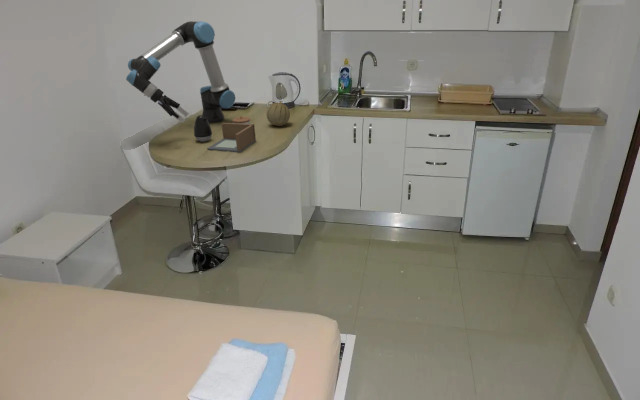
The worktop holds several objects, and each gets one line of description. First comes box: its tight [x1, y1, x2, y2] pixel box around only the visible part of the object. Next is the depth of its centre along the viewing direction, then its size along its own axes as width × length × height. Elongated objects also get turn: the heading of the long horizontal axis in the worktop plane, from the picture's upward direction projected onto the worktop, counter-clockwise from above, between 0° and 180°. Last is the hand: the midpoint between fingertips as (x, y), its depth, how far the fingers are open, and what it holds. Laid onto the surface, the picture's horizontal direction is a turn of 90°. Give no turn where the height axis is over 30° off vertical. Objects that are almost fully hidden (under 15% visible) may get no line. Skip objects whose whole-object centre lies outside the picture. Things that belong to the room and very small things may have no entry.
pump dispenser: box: [193, 114, 213, 143], centre depth 260 cm, size 10×10×15 cm
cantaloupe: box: [266, 101, 291, 127], centre depth 283 cm, size 15×15×15 cm
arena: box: [206, 122, 257, 153], centre depth 251 cm, size 20×20×10 cm
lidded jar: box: [232, 115, 251, 124], centre depth 276 cm, size 11×11×9 cm
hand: (185, 118), depth 256 cm, fingers open, 13 cm apart
